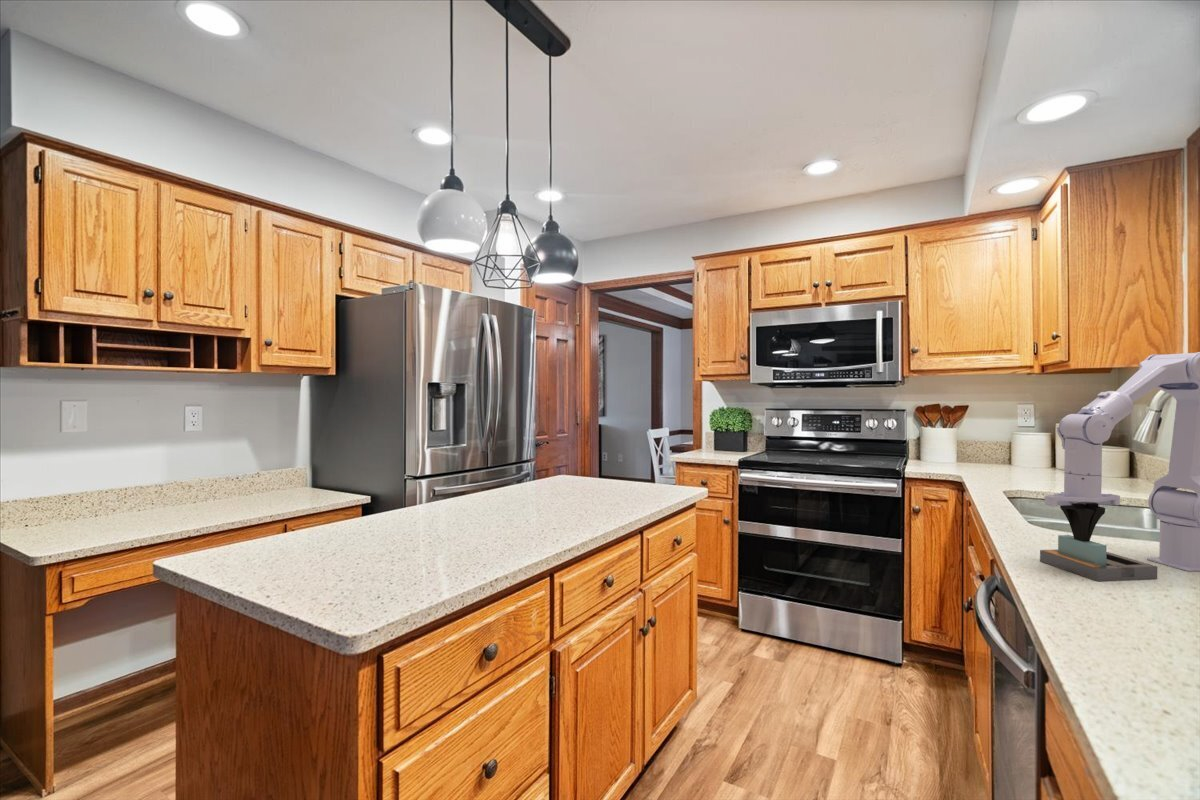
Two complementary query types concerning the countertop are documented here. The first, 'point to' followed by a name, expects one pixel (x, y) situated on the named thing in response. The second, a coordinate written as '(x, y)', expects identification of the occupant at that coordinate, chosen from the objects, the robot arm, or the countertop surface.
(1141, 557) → the countertop surface
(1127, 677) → the countertop surface
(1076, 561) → the panel rack
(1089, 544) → the panel
